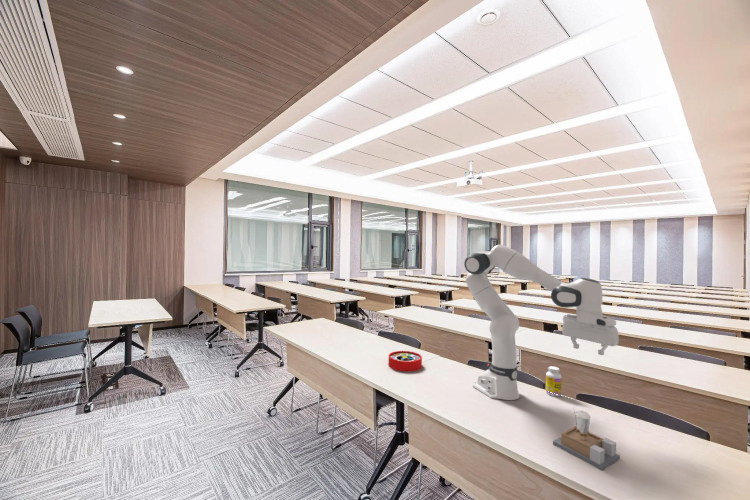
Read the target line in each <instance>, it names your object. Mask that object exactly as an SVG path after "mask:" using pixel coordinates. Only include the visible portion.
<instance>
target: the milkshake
mask: <svg viewBox="0 0 750 500" xmlns="http://www.w3.org/2000/svg"><path fill="white" fill-rule="evenodd" d="M572 409H573V410H574V414H575V426H576V430H577V437H578V438H579V439H581V440H588V434H589V433H590V422H591V415H590V414H589V412H587V411H584V410H575V408H574V407H572Z"/></svg>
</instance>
